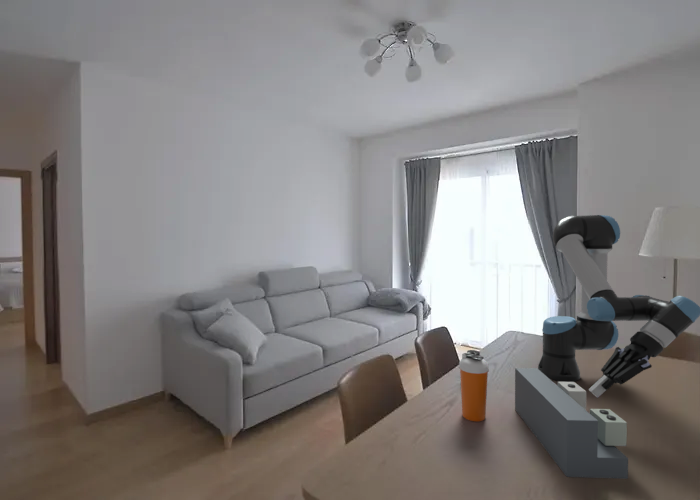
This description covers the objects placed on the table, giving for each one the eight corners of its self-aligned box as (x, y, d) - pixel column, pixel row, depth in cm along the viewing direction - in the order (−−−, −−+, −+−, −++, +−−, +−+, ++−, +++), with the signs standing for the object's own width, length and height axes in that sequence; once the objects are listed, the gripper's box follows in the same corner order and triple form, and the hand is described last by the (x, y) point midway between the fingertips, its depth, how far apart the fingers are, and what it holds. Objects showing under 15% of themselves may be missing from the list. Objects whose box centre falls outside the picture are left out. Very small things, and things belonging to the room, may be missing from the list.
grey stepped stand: (558, 410, 122) (559, 368, 122) (627, 478, 89) (629, 421, 88) (515, 409, 123) (515, 367, 123) (566, 476, 90) (567, 420, 89)
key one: (573, 400, 117) (574, 380, 117) (586, 411, 110) (586, 390, 110) (557, 400, 118) (557, 380, 118) (568, 410, 111) (568, 390, 111)
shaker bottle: (474, 426, 113) (474, 361, 112) (453, 413, 121) (453, 353, 120) (494, 418, 118) (494, 356, 117) (473, 407, 125) (473, 348, 124)
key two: (608, 431, 100) (609, 408, 99) (626, 446, 93) (626, 421, 92) (589, 430, 100) (589, 407, 100) (605, 445, 93) (605, 420, 93)
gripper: (678, 355, 105) (615, 412, 106) (644, 341, 118) (589, 393, 119) (658, 336, 105) (596, 394, 107) (627, 325, 118) (572, 376, 120)
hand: (593, 393), depth 113 cm, fingers closed
